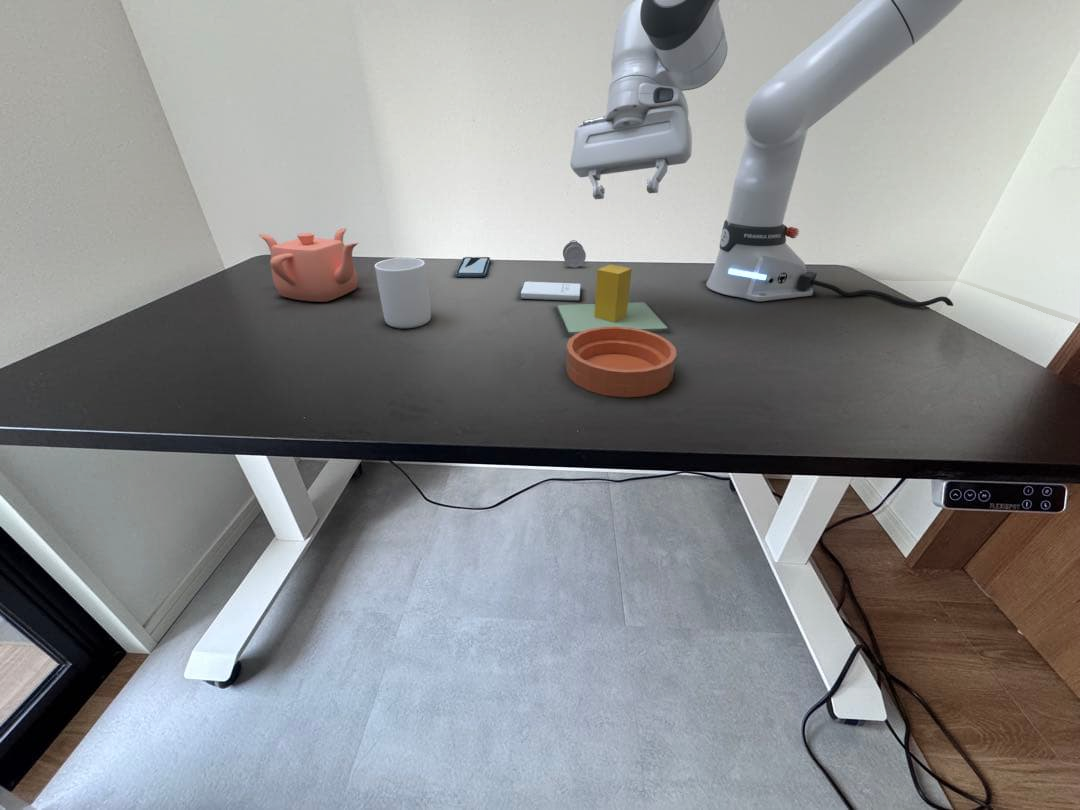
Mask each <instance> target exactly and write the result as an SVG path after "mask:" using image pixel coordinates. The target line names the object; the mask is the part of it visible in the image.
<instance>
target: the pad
mask: <svg viewBox="0 0 1080 810" xmlns="http://www.w3.org/2000/svg"><path fill="white" fill-rule="evenodd" d="M557 311H558V313H559V316H560V317H561V318H562V321H563V323H564V325H565V327H566V330H567V332H568V334H577V333H579V332H582V331H585V330H587V329H593V328H598V327H616V326H617V327H629V328H635V329H640V330H645V331H658V330H668V329H669V327H668V326H666V324H665V323H664V322H663V321H662V320H661V319H660V318H659V317H658V316H657V314H655V312H654V311H653V310H652V309H651V307H650V306H649V305H648V304H647V303H646V302H644V301H640V302H639V301H637V302H635V301H634V302H628V307H627V316H625V317H623V318H622V319H620V320H618V321H616V322H611V321H608V320H604V319H600V318H596V317H594V313H595V303H581V304H578V303H577V304H576V303H575V304H557Z"/></svg>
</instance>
